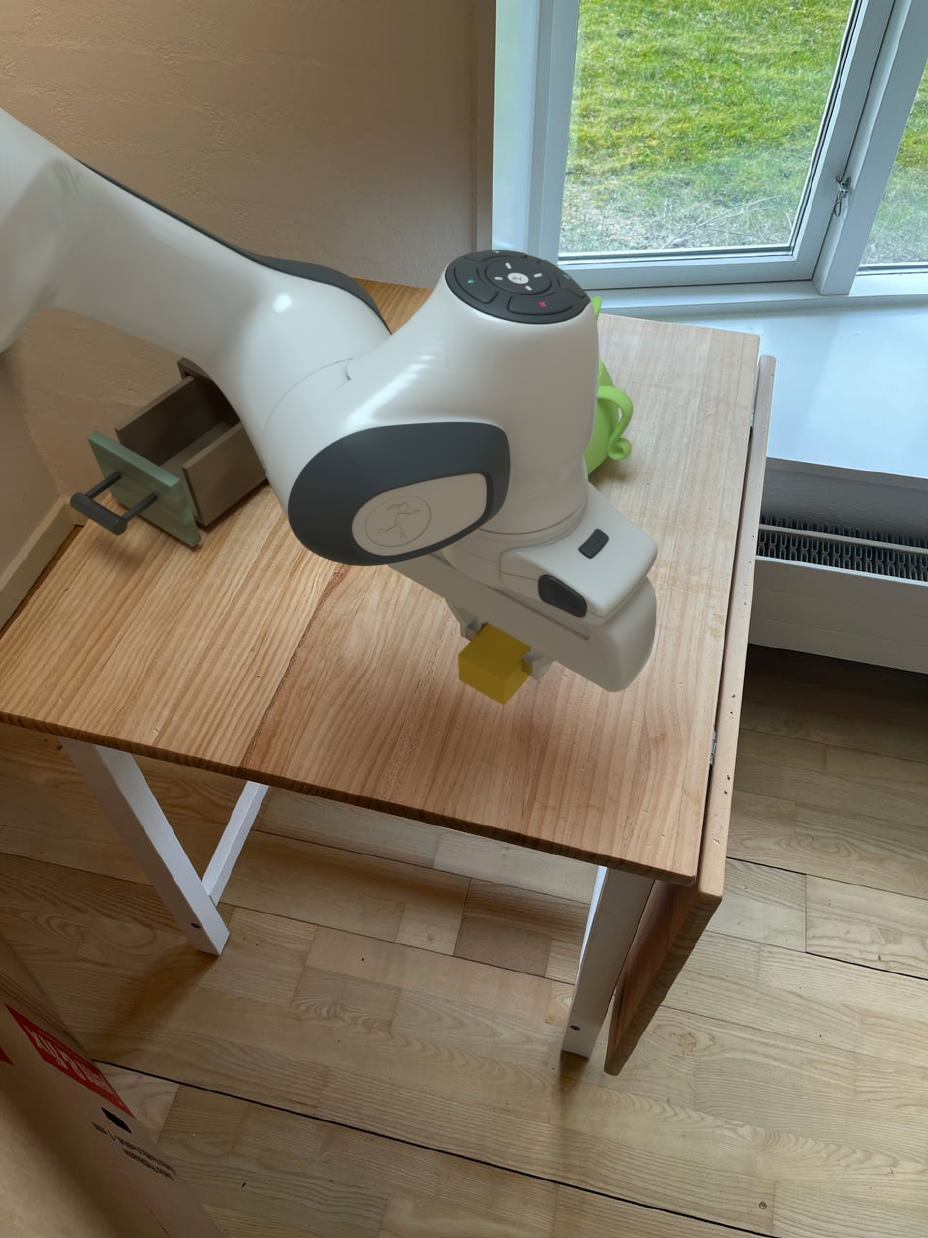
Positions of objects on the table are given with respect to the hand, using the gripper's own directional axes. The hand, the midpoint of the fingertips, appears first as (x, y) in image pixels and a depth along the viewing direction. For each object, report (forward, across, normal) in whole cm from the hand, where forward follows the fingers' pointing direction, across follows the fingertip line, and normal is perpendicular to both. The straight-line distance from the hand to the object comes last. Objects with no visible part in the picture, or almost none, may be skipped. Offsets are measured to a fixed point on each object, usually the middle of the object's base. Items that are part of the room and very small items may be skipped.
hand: (505, 652), depth 68 cm
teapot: (+11, -16, +31) cm, 36 cm away
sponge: (+2, 0, 0) cm, 2 cm away
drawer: (+10, -41, +4) cm, 42 cm away
